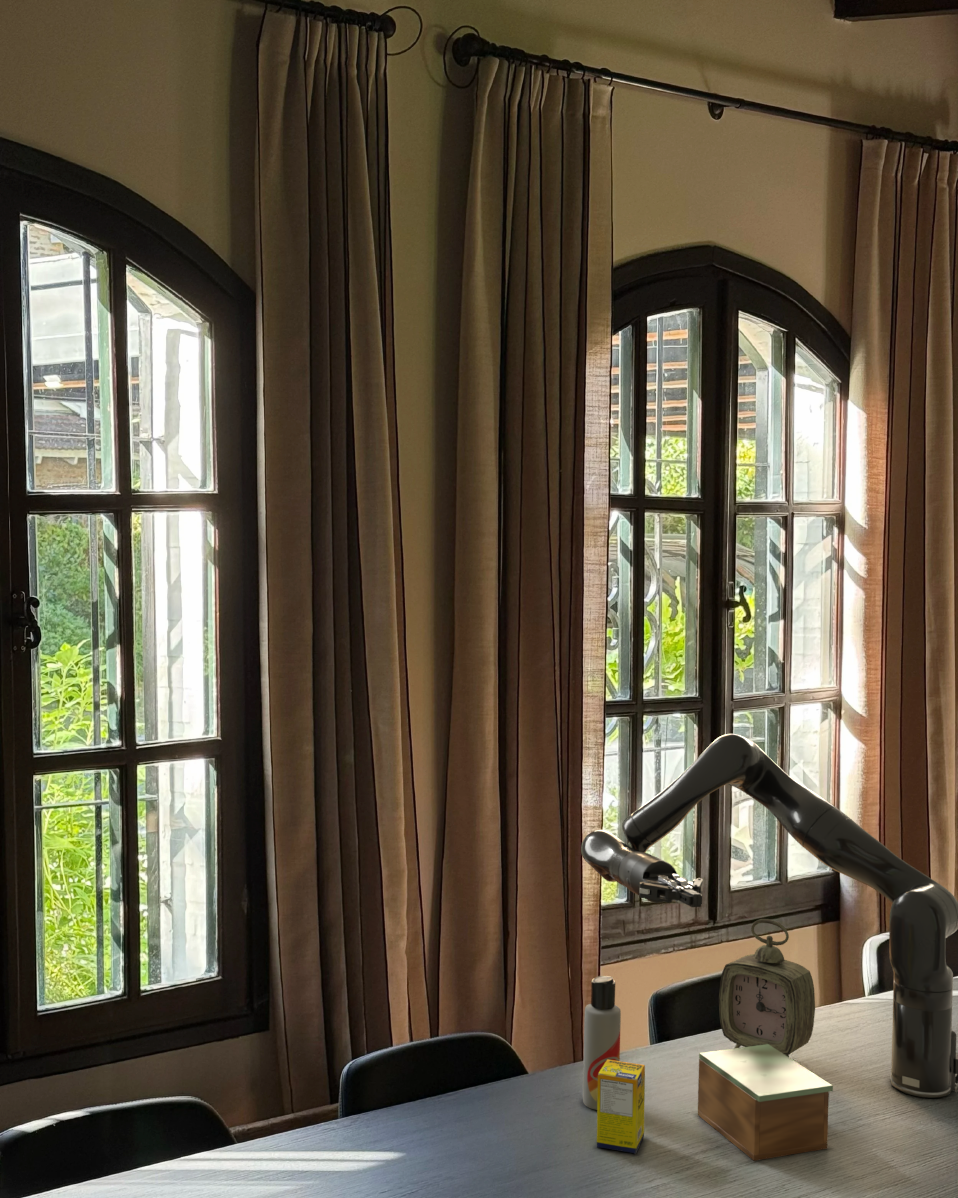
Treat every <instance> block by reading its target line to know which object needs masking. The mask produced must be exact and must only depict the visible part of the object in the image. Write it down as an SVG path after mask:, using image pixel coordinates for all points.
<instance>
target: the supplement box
mask: <svg viewBox="0 0 958 1198" xmlns="http://www.w3.org/2000/svg"><path fill="white" fill-rule="evenodd" d="M645 1093H646V1065H645V1064H641V1063H633V1062H629V1061H628V1062H626V1061H621V1060H620V1061H615V1060H609V1059H607V1061H606V1062H605V1064H604V1065H603V1067H602V1068H601V1070H600V1071H599V1074H598V1097H597V1110H596V1147H597V1148H601V1149H607V1150H612V1151H619V1152H626V1153H630V1154H635V1155H636V1154H637V1152H638V1150H639V1148H640V1145H641V1144H642V1142H643V1140H644V1137H645V1099H646V1098H645V1097H646V1095H645Z"/></svg>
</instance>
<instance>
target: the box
mask: <svg viewBox="0 0 958 1198" xmlns="http://www.w3.org/2000/svg"><path fill="white" fill-rule="evenodd" d="M697 1084H698V1087H697V1116H699V1117H700V1119H702V1120H703V1121H704V1122H706V1123H707V1124H708V1125H710V1126H711V1128H713V1129H715V1130H716V1132H718V1133H719V1134H720V1135H722V1136H723V1137H724V1138H726V1139H727V1140H728V1142H731V1143H732V1145H734V1146H735V1147H736V1148H738V1149H739V1150H740V1151H741V1152H743V1153H744V1154H745V1155H746V1156H747V1157H748V1158H750V1159H751V1160H752V1161H761V1160H767V1159H773V1158H779V1157H785V1156H790V1155H797V1154H803V1153H809V1152H815V1151H821V1150H827V1149H828V1142H829V1141H828V1140H829V1139H828V1136H829V1104H830V1103H829V1102H830V1101H829V1098H830V1097H829V1096H830V1092H823V1093H817V1094H810V1095H803V1096H796V1097H790V1098H783V1099H776V1100H769V1101H762V1102H759V1101H757V1100H756V1099H754V1098H753V1097H752V1096H750V1095H749V1094H748V1093H746V1092H745V1091H744V1090H742V1089H741V1088H739V1087H738V1086H737V1085H735V1084H734V1083H733V1082H731V1081H730V1080H728V1079H727V1078H726V1077H724V1076H723V1075H722V1074H720V1073H719V1072H718V1071H716V1070H715V1069H713V1068H712V1067H711V1066H709V1065H708V1064H707V1063H705V1062H704V1061H702V1060H701V1059H700V1058H699V1059H698V1082H697Z"/></svg>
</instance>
